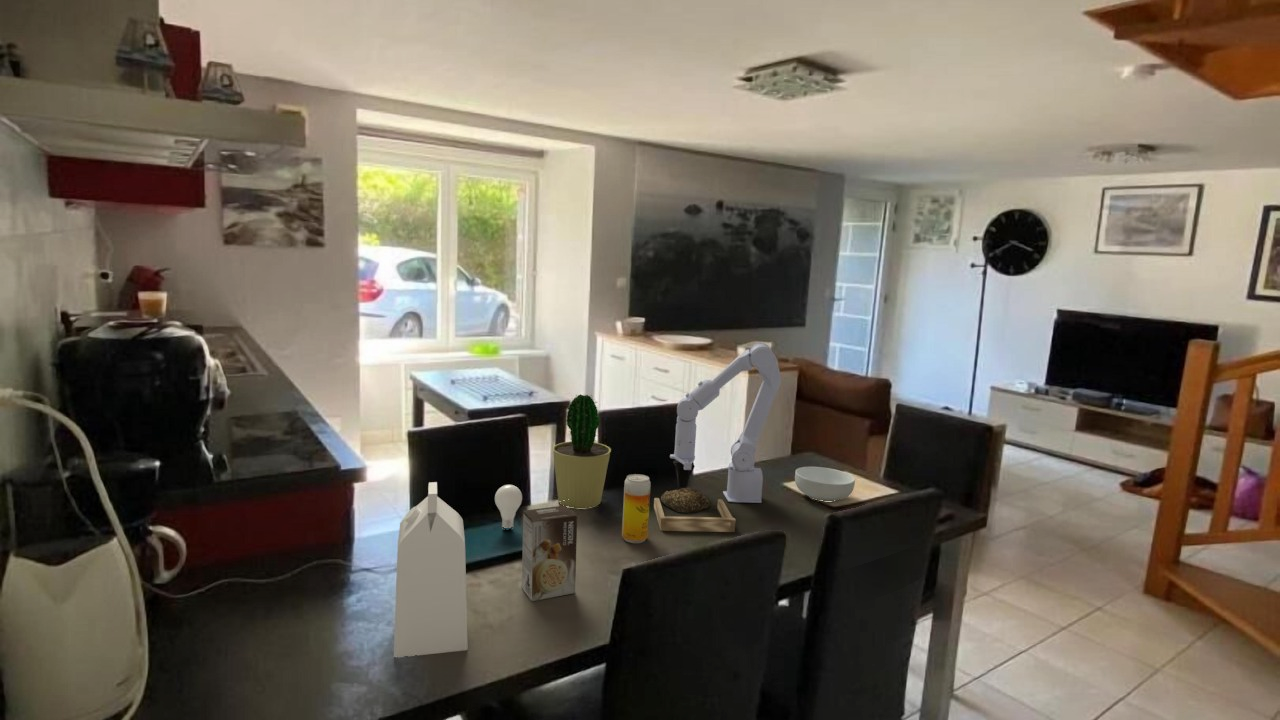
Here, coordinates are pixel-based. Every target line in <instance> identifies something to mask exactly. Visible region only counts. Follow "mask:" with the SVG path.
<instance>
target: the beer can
mask: <svg viewBox="0 0 1280 720" xmlns="http://www.w3.org/2000/svg"><path fill="white" fill-rule="evenodd" d="M651 483H652V482H651V481H650V477H649V476H648V475H645V474H638V473H637V474H636V473H634V474H632V473H631V474H628V475H626V478H625V480H624V484H623V485H624V487H623V503H622V504H623V505H622V506H623V508H622V525H621V526H622V527H621V537H622V538H623V539H624V541H625V542H628V543H631V544H641V543H644V542H645V541H646V539H648V536H649V519H650V517H649V516H650V502H651V500H650V499H651V487H652V486H651Z"/></svg>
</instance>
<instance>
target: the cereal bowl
mask: <svg viewBox="0 0 1280 720" xmlns="http://www.w3.org/2000/svg"><path fill="white" fill-rule="evenodd" d="M794 474H795V475H794V482H795V485H796V487H797V489H798V490H799V491H800V492H801V493H803V495H806V496H809V497H811V498H814V499H817V500H823V501H834V500H836V501H841V500H844V499H847V497H849V496H850V495H851V494H853V491H854V489H855V483H856V479H855V477H854V476H853V475H852V474H850V473H848V472H845V471H843V470H838V469H836V468H835V469H834V468H829V467H821V466H802V467H798V468H796V469H795V473H794ZM811 498H810V499H811Z"/></svg>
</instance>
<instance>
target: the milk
mask: <svg viewBox="0 0 1280 720" xmlns="http://www.w3.org/2000/svg"><path fill="white" fill-rule="evenodd" d="M427 490H428V492H427V496H426V497H425V498H424V499H423V500H421V501H420V502H419V503H418V504H417V505H416V506H413V507H412V508H410V509H409V511H408V512H407V513H406V515H405V516H404V517H403V519H402V520H401V521H400V522H399V530H398V540H397V553H396V580H395V581H396V582H395V583H396V585H395V605H394V607H395V608H394V609H395V611H394V633H393V634H394V636H393V638H394V639H393V658H394V657H396V658H397V657H398V658H405V657H404V656H408V657H413V656H414V657H415V655H417V656H424V655H433V654H442V653H443V654H444V653H452V652H462V651H468V646H469V645H468V616H467V615H468V613H467V610H468V609H467V607H468V606H467V573H466V571H467V569H466V539H465V538H466V537H465V529H464V527H465V526H464V520H463V518H462V516H461V515H460V514H459V512H457V511H456V510H455V509H453V507H451V506H450V505H449V504H447V503H446V502H445V501H444V500H443V499H441V498H440V497H439V496H438V482H437V481H434V482H433V481H432V482H430V481H429V482H428V487H427ZM396 658H395V659H396Z"/></svg>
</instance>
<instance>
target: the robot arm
mask: <svg viewBox="0 0 1280 720" xmlns="http://www.w3.org/2000/svg"><path fill="white" fill-rule="evenodd" d="M753 367H754V368H755V369H756V370H757V371H758V373H759V374H760V376H761V378H762V382H761V385H760V387H759V389H758V392H757V394H756V397H755V400H754V402H753V404H752V407H751V409H750V413H749V414H748V417H747V420H746V422H745V425H744V427H743V430H742V431H741V433H740V435H739V437H738V439H737V440H736V441H735V442H734V443H733V444H732V445H731V448H730V454H731V462H730V463H728V470H727V471H728V473H727V486H726V490H723V491H722V493H723V496H724V497H725V498H726V500H727V502H729V503H749V504H750V503H753V504H755V503H757V504H758V503H759V504H762V502H763V501H762V494H763V483H764V481H763V480H764V479H763V478H764V476H763V475H764V474H763V471H762V469H761V467H755V462H756V457H755V454H756V450H757V447H758V443H759V439H760V436H761V434H762V431H763V429H764V426H765V424H766V421H767V420H768V415H769V414H770V411H771V408H772V406H773V404H774V401H775V399H776V396H777V394H778V392H779V389H780V386H781V383H782V376H781V370H780V367H779V361H778V358H777V356H776V355H775V354H774V352H773V350H771V348H770V346H769V345H768V344H767V343H764V342H758V343H757V342H756V343H755V344H753V345H751V346H750V348H748V349H745V351H743V352H742V353H740V354H739V355H738V356H737V357H735V359H734V360H733V361H731V362H730V363H729V364H728V365H727V366H726V367H725V368H724V369H723V370H721V372H719V373H718V374H717V375H716V376H715V377H714V378H713V379H704V380H703V381H702V380H700V381H699V382H698V383H697V385H698V386H697V387H696V388H694V389H693V390H692V391H690V392H687V393H686V394H685V397H682V398H681V399H680V400H679V401H678V403H677V406H676V414H677V417H676V424H675V439H674V452H673V454H671V453H670V455H669V458H670V459H672V460H673V459H674V460H673V462H672V463H673V464H674V467H675V471H676V472H675V473H676V478H677V479H676V480H677V486H678V488H680V489H682V488H688V483H689V479H690V477H691V474H692V472H693V470H694V469H695V463H694V461H695V460H696V456H695V455H696V454H695V453H696V439H697V438H696V436H697V435H696V434H697V424H696V422H697V417H698V415H699V411H702V410H704V409H705V408H706V407H707V406H709V405H710V404H712V402H713V401H714V400H715V399H717V398H718V397H720V390H721V388H722V387H724V386H725V385H726V384H727V383H729V382H730V381H731V380H733V379H734V378H735V377H736V376H738V375H739V374H740V373H742V372H746V371H752V370H753Z"/></svg>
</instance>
